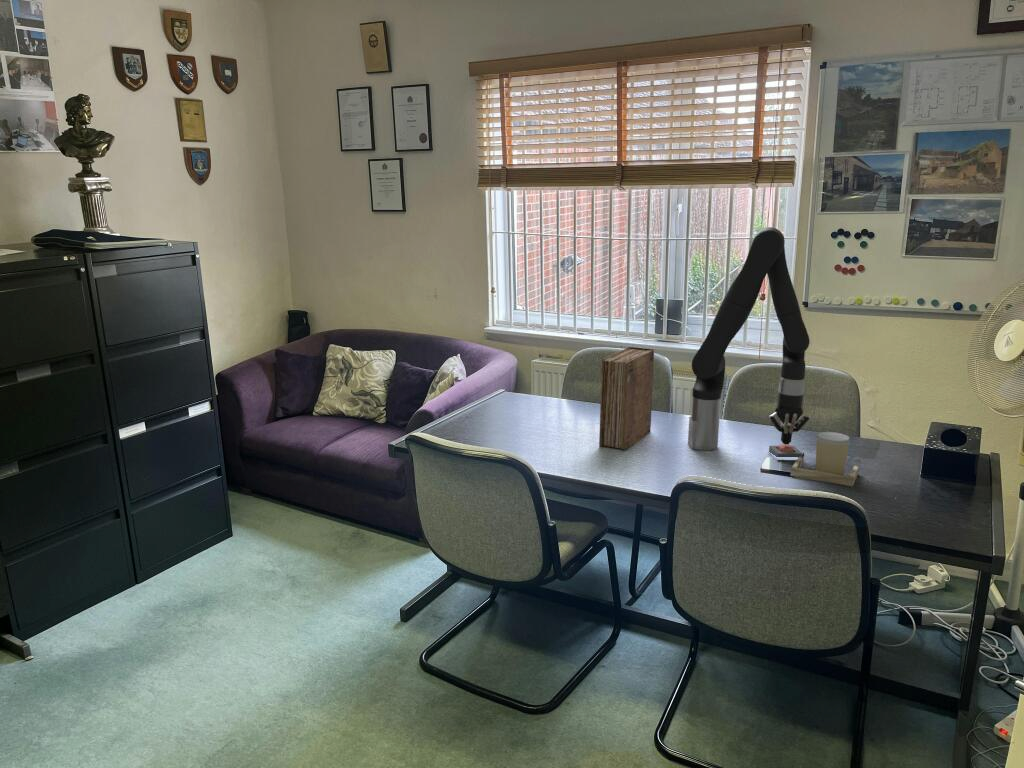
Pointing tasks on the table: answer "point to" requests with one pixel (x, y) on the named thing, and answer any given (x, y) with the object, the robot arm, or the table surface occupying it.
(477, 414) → the table surface
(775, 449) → the button box
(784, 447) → the button
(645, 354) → the brown plywood block
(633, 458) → the table surface
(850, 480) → the holder
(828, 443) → the coffee cup
